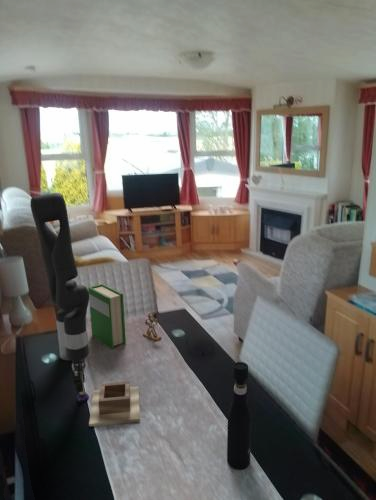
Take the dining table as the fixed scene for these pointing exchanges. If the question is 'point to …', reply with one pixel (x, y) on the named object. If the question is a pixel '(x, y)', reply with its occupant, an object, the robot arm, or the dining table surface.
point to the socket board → (115, 404)
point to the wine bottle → (239, 421)
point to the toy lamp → (83, 396)
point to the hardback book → (107, 315)
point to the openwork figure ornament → (148, 333)
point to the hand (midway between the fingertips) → (80, 386)
